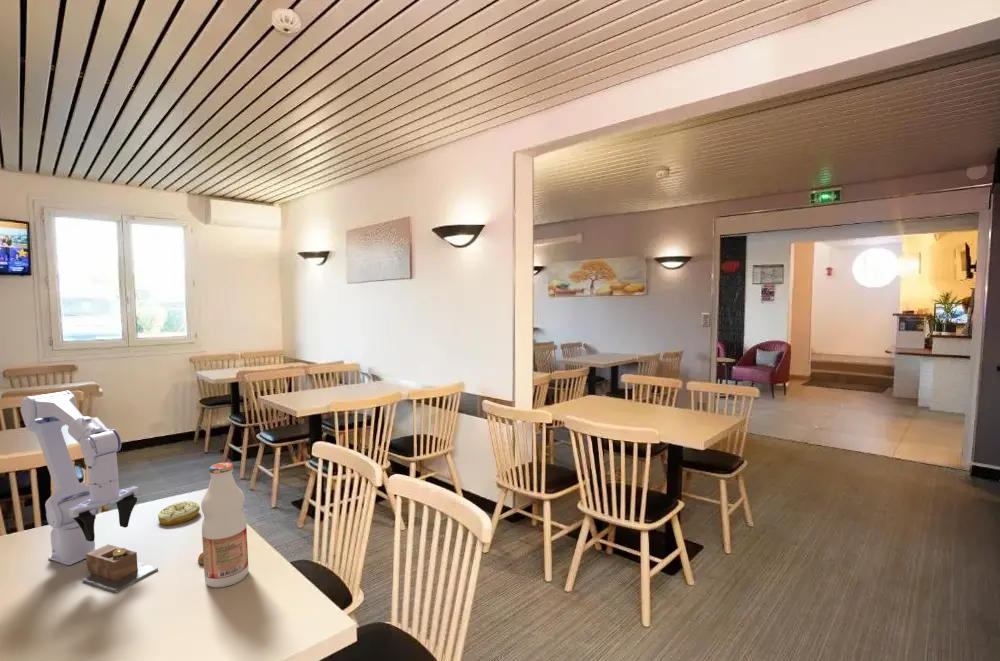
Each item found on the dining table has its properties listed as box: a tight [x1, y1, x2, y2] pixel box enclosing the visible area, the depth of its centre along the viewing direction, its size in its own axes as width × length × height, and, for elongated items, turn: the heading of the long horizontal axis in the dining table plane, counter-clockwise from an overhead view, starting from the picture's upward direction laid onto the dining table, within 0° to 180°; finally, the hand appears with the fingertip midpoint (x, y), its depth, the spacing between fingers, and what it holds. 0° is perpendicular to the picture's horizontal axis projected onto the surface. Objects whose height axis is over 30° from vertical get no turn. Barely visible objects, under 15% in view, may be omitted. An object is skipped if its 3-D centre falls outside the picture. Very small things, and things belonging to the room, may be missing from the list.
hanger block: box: [85, 544, 138, 581], centre depth 124 cm, size 11×5×5 cm, turn 68°
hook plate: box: [82, 547, 159, 593], centre depth 122 cm, size 12×10×6 cm
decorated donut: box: [157, 501, 201, 526], centre depth 154 cm, size 10×11×4 cm
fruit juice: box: [200, 461, 249, 589], centre depth 121 cm, size 9×9×28 cm
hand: (107, 533), depth 125 cm, fingers open, 7 cm apart
